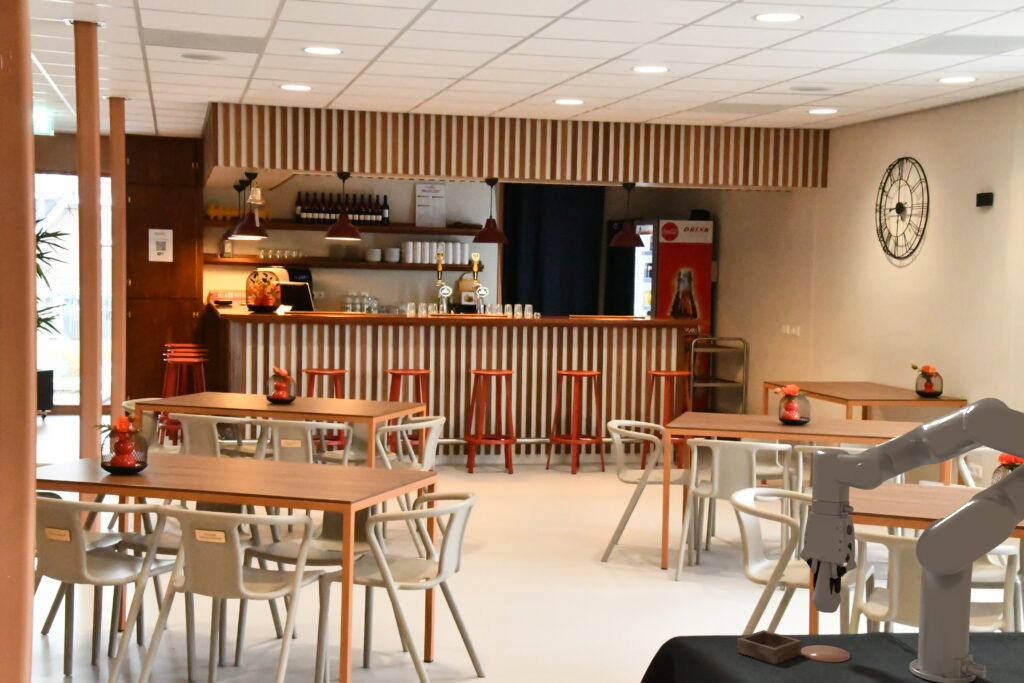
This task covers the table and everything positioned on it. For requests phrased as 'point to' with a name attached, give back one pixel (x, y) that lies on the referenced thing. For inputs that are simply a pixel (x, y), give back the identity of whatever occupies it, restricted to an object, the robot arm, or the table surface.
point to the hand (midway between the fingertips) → (826, 592)
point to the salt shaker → (825, 590)
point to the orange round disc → (825, 653)
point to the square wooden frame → (758, 650)
